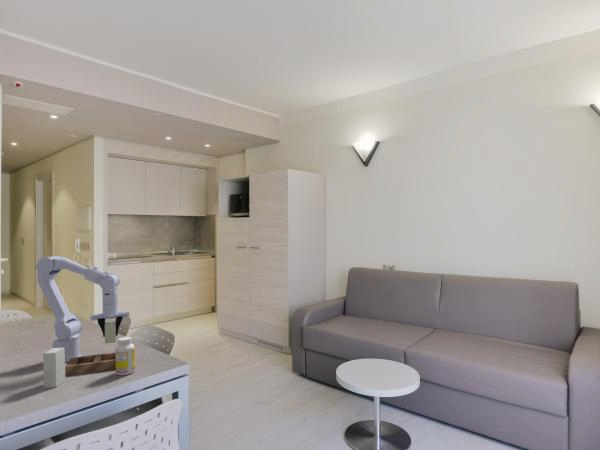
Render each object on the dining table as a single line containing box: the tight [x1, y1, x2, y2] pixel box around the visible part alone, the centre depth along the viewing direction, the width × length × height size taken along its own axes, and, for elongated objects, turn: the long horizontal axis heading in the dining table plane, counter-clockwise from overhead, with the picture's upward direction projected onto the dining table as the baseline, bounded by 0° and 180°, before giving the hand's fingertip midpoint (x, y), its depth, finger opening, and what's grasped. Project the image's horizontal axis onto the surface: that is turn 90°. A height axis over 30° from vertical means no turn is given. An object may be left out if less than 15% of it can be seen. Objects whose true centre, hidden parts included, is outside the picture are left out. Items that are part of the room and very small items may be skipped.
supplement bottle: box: [115, 336, 136, 376], centre depth 143 cm, size 7×7×13 cm
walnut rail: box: [65, 352, 116, 377], centre depth 150 cm, size 20×11×3 cm, turn 112°
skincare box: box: [42, 347, 66, 389], centre depth 133 cm, size 6×4×12 cm
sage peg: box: [104, 320, 117, 345], centre depth 160 cm, size 4×4×8 cm
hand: (110, 335), depth 160 cm, fingers closed on sage peg, 4 cm apart
